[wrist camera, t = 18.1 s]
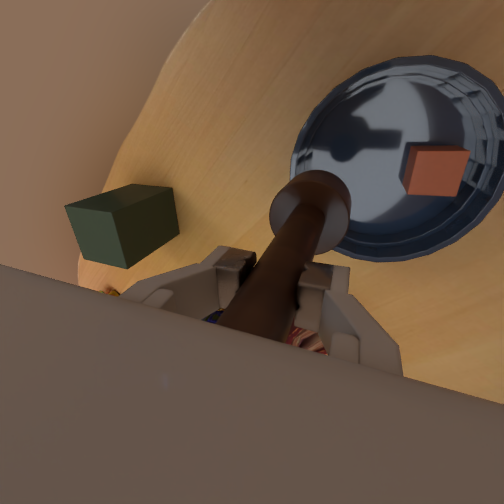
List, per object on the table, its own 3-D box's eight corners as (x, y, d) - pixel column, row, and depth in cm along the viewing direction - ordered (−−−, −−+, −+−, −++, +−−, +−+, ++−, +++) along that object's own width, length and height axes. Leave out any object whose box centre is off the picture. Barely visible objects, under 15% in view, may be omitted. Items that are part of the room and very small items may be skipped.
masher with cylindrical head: (284, 166, 17) (118, 287, 5) (358, 172, 16) (347, 353, 4) (279, 230, 19) (155, 412, 8) (344, 241, 18) (311, 481, 6)
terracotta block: (410, 145, 27) (417, 150, 23) (457, 145, 25) (471, 150, 22) (402, 184, 28) (407, 194, 25) (444, 186, 27) (456, 196, 24)
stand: (132, 183, 43) (63, 205, 33) (172, 187, 40) (111, 212, 31) (142, 227, 47) (83, 259, 37) (179, 234, 44) (127, 269, 35)
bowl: (308, 71, 27) (296, 63, 23) (524, 60, 22) (572, 45, 17) (295, 229, 36) (285, 247, 31) (447, 249, 31) (464, 276, 26)
